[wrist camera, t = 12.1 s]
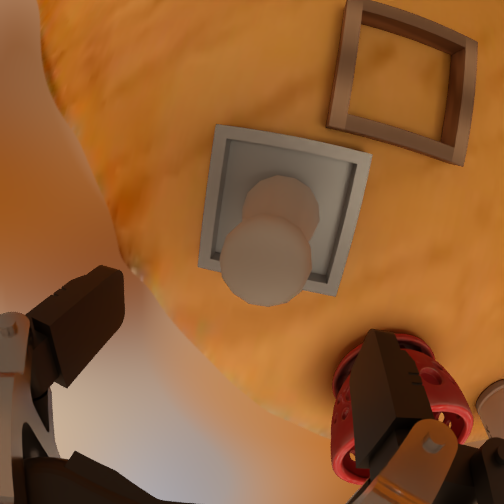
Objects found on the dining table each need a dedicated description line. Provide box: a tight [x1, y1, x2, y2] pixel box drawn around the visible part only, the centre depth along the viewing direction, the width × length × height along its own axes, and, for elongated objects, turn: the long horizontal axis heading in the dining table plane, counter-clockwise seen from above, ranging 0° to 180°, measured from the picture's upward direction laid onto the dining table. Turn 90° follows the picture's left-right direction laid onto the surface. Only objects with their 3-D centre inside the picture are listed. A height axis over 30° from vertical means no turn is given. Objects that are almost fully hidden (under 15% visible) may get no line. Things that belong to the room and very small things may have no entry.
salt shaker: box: [220, 175, 320, 307], centre depth 20 cm, size 6×6×13 cm
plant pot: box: [331, 334, 473, 485], centre depth 25 cm, size 13×13×12 cm
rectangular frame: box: [326, 0, 478, 167], centre depth 20 cm, size 11×11×3 cm
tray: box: [198, 124, 373, 297], centre depth 25 cm, size 12×12×2 cm
